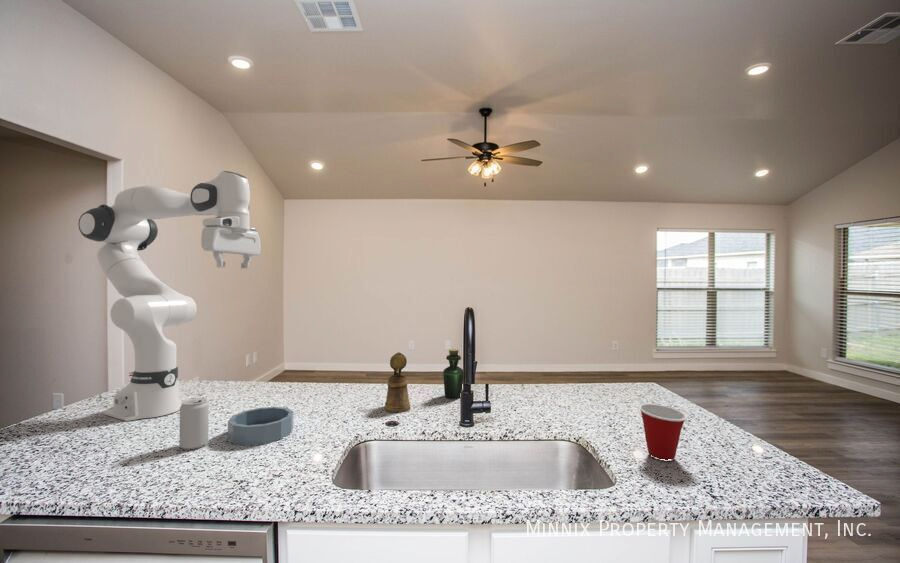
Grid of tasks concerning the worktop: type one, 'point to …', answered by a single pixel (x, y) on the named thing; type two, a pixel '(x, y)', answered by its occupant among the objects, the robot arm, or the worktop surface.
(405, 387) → the wooden bell
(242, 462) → the worktop surface
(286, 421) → the bowl
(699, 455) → the worktop surface
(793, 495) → the worktop surface
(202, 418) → the beverage can
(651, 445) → the plastic cup
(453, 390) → the potion bottle
